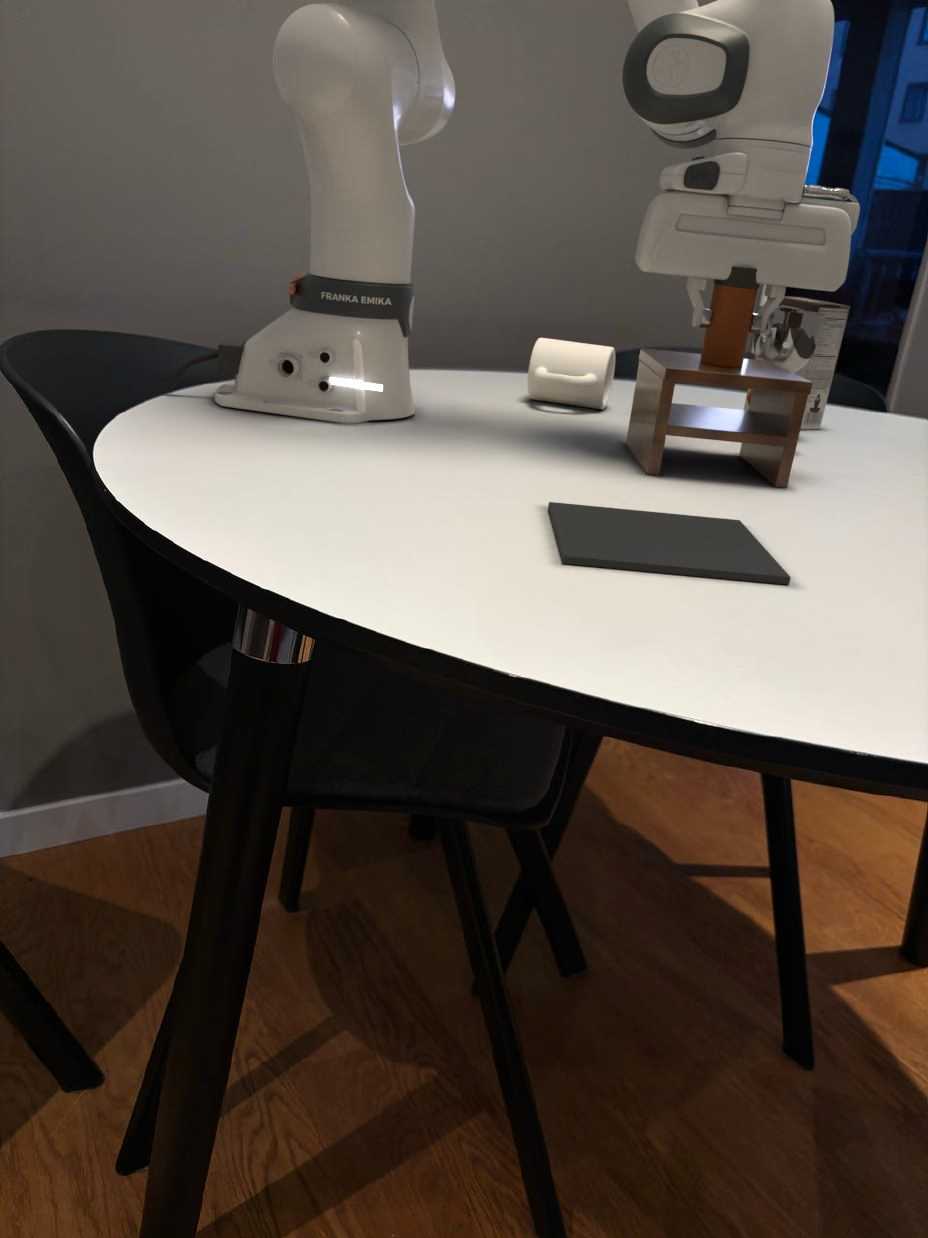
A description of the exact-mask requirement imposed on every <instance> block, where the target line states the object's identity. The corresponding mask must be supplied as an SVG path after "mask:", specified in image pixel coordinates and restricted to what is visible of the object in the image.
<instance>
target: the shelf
mask: <svg viewBox="0 0 928 1238" xmlns="http://www.w3.org/2000/svg"><path fill="white" fill-rule="evenodd" d="M700 359H701V353H693V352H686V351H685V352H684V351H675V350H674V351H673V350H664V349H655V348H654V349H653V348H644V347H641V348H640V349H639V355H638V368H637V374H636V379H635V386H634V391H633V392H634V393H633V398H632V404H631V411H630V417H629V422H628V429H627V434H626V435H627V436H626V441H625V444H626V446H627V447H628V449H629V451H630V453H632V455H633V456H634V458H635V459H636V461H637V462H638V464H639V465H640V466H641V468H642V469H643V471H644V472H645V474H646V475H647V476H648V475H649V476H660V471H661V467H662V460H663V455H664V448H665V443H666V439H667V438H666V437H667V436H671V437H678V438H679V437H681V438H689V439H690V438H691V439H699V440H700V439H702V440H709V441H711V440H712V441H721V442H730V443H731V442H732V443H740V444H741V445H740V449H739V456H740V457H741V458H742V459H743V460H744V461H745V462H746V463H747V464H749V465H750V466H751V467H753V469H755V470H756V471H757V472H758V473H759V474H760V475H761V476H763V477H764V478H765V479H766V480H767V481H768V482H769V483H771V485H773V487H775V488H781V489H784V488H785V489H787V488H788V485H789V480H790V477H791V472H792V467H793V464H794V460H795V455H796V450H797V445H798V442H799V437H800V433H801V430H800V429H801V424H802V420H803V415H804V411H805V407H806V402H807V398H808V395H810V393H811V388H812V384H813V382H811V381H809V380H806V379H804V378H802V377H800V376H798V375H796V374H794V373H792V372H790V371H788V370H786V369H784V368H781V367H779V366H777V365H775V364H773V363H771V362H769V361H764V360H754V359H755V358H753V359H752V358H744V360H743V365H742V367H723V366H716V365H710V364H706V363H702V362H701V361H700ZM676 383H687V384H695V385H705V386H717V387H725V388H737V389H746V390H748V389H753V391H752V396H751V401H750V406H749V411H747V410H744V409H737V408H736V409H735V408H725V407H715V406H708V405H707V406H705V405H696V404H686V403H677V402H673V398H674V392H675V388H676V387H675V386H676Z"/></svg>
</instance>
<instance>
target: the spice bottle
mask: <svg viewBox="0 0 928 1238" xmlns="http://www.w3.org/2000/svg"><path fill="white" fill-rule="evenodd" d="M756 273H757V269H753V268H743V267H734V266H733V267H732V268H731V273H730V275H729V277H728V278H727V279H726V280H718V279H713V289H712V294H711V299H710V306H709V309H710V310H713V311H712V317H711V318H710V326H709V328H705V332H704V337H703V344H702V349H701V353H700V354H701V359H700V361H701V362H702V363H706V364H710V365H716V366H723V367H742V365H743V360H744V359H745V356H746V349H747V345H748V340H749V335H750V332H749V330H750V325H751V321H752V316H753V313H754V310H755V305H756V300H757V295H758V290H759V289H760V286H761V284H758V283H757V282H756Z"/></svg>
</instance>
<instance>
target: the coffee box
mask: <svg viewBox="0 0 928 1238" xmlns="http://www.w3.org/2000/svg"><path fill="white" fill-rule="evenodd" d="M768 298H769V297H767V298H766V301H767V300H768ZM777 307H779V308H788V309H796V310H804V311H811V312H817V313H822V314H825V321H824V325H823V329H822V333H821V336H820V339H819V342H818V344H817V347H816V349H815V351H814V353H813V355H812V357H811V359H810V360H809V362H808V363H807V364H806V365H805V366H804V367H803V368H801V369H800V370H799V371H798V372H797V373H795V374H796V375H798V376H800V377H802V378H804V379H806V380H809V381H811V382H813V384H812V388H811V393H810V395H808V398H807V402H806V407H805V411H804V415H803V420H802V424H801V429H800V431H801V430H820V429H821V428H822V427H821V426H822V422H823V418H824V414H825V410H826V405H827V402H828V399H829V398H828V397H829V393H830V390H831V386H832V382H833V379H834V373H835V370H836V366H837V361H838V358H839V353H840V350H841V346H842V341H843V337H844V334H845V333H844V332H845V329H846V325H847V321H848V317H849V313H850V310H851V306H850V305H846V304H842V303H836V302H830V301H824V300H818V299H813V298H809V297H802V296H790V295H784V299H783V300H782V302H781V303H780V304H779V305H778V306H777ZM753 359H754V360H757V359H756V357H755V356H754V358H753ZM752 391H753V389H747V391H746V397H745V401H744V406H743V410H747V411H749V406H750V401H751V396H752Z"/></svg>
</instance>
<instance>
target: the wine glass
mask: <svg viewBox="0 0 928 1238" xmlns="http://www.w3.org/2000/svg"><path fill="white" fill-rule="evenodd" d="M762 306H763V305H760V306H759V305H758V306H757V310H756V314H758V311H759V310H760V309H761V308H762ZM824 321H825V314H822V313H817V312H811V311H804V310H796V309H788V308H779V307H777V308H776V309H775V310H774V311H773V313H772V314H771V315H770V316H768V320H767V325H766V330H765V333H764V334H758V333H753V340H752V343H753V354H754V358H755V357H756V359H757V360H764V361H769V362H771V363H773V364H775V365H777V366H779V367H781V368H784V369H786V370H788V371H790V372H792V373H794V374H795V373H797V372H798V371H799V370H800V369H801V368H803V367H804V366H805V365H806V364H807V363H808V362H809V360H810V359H811V357H812V355H813V353H814V351H815V349H816V347H817V344H818V342H819V339H820V336H821V333H822V329H823V325H824Z"/></svg>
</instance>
